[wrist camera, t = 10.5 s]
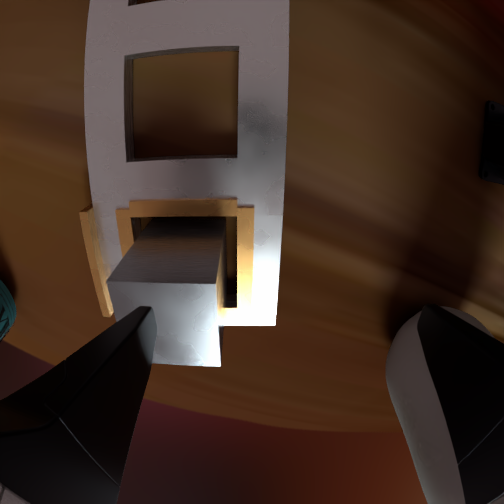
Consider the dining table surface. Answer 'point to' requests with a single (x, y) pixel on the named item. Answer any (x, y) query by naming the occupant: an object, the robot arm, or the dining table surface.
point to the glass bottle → (425, 414)
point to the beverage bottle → (6, 310)
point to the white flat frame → (194, 166)
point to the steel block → (177, 287)
